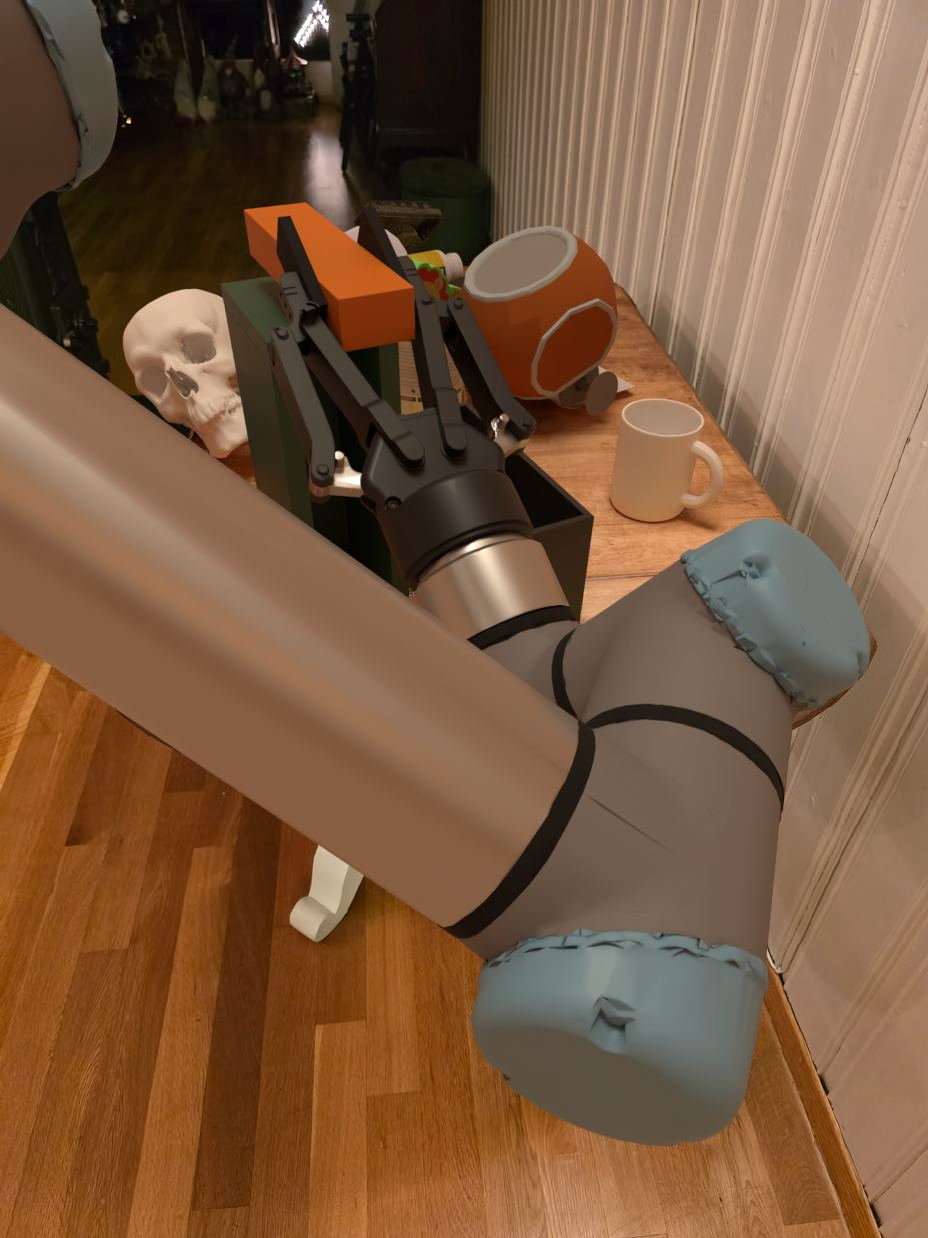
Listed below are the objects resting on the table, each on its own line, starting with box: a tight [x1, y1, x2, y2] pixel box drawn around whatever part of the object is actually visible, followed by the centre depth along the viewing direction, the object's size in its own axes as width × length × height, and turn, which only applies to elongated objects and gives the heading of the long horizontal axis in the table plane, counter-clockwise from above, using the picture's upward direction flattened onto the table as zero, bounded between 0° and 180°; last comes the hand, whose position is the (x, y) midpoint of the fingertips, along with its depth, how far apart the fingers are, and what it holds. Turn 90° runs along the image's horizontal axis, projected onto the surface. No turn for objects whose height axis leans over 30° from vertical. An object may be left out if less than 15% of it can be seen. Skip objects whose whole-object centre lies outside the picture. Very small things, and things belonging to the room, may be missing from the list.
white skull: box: [122, 288, 248, 459], centre depth 96 cm, size 14×20×19 cm
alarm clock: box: [459, 225, 619, 401], centre depth 98 cm, size 19×18×17 cm
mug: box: [609, 398, 725, 523], centre depth 86 cm, size 12×8×10 cm
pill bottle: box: [408, 249, 464, 282], centre depth 136 cm, size 6×6×12 cm
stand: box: [220, 275, 410, 599], centre depth 67 cm, size 12×9×28 cm
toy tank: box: [353, 199, 444, 255], centre depth 134 cm, size 14×28×10 cm
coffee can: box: [398, 299, 465, 414], centre depth 98 cm, size 10×10×14 cm
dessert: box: [547, 365, 636, 409], centre depth 110 cm, size 12×12×5 cm
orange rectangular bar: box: [243, 202, 415, 352], centre depth 52 cm, size 19×4×3 cm, turn 27°
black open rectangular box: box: [409, 401, 595, 625], centre depth 75 cm, size 22×9×13 cm, turn 27°
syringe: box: [559, 365, 618, 417], centre depth 110 cm, size 7×7×30 cm
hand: (325, 229), depth 50 cm, fingers closed on orange rectangular bar, 4 cm apart
